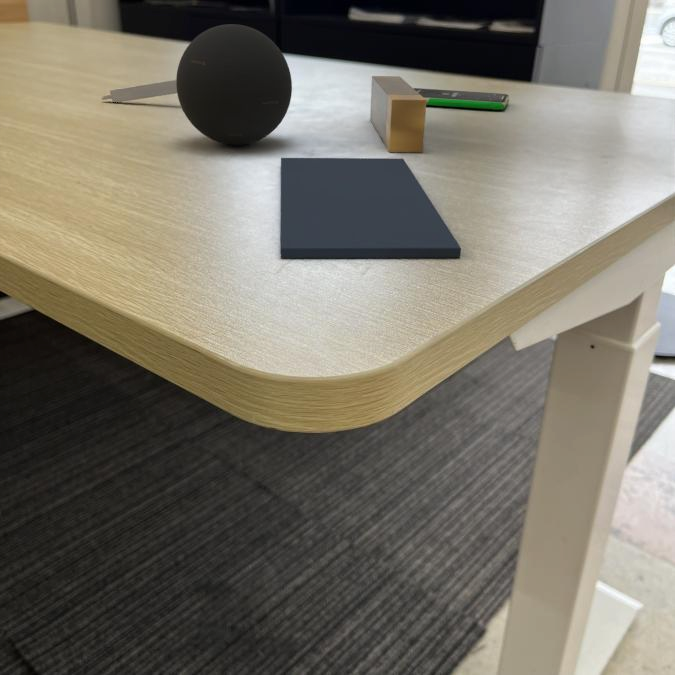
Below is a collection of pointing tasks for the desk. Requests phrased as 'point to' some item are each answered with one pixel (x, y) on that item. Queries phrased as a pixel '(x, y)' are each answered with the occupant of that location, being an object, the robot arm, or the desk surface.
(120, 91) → the caliper
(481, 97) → the smartphone
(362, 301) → the desk surface
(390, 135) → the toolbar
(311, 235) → the mat
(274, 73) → the speaker
